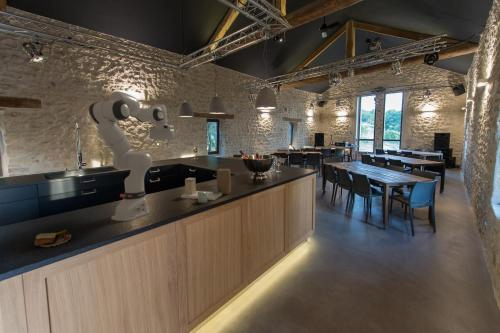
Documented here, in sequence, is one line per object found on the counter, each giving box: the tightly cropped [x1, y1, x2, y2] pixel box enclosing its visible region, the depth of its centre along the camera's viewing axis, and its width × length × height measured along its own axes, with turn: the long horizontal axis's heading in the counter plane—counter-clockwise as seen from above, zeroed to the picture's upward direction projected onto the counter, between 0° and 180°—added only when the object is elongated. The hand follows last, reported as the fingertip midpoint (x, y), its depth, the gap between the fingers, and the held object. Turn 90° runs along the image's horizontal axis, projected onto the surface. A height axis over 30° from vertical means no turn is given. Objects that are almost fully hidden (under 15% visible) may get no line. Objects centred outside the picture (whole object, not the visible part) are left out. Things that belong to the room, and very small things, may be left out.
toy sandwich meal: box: [33, 229, 72, 248], centre depth 117 cm, size 12×14×5 cm
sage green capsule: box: [197, 190, 208, 204], centre depth 183 cm, size 7×7×7 cm
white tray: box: [180, 190, 223, 201], centre depth 198 cm, size 16×28×2 cm, turn 74°
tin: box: [212, 186, 219, 194], centre depth 200 cm, size 4×4×5 cm
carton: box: [184, 177, 197, 194], centre depth 200 cm, size 6×6×12 cm
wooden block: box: [216, 168, 232, 195], centre depth 207 cm, size 10×10×20 cm
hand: (162, 145), depth 187 cm, fingers open, 8 cm apart
